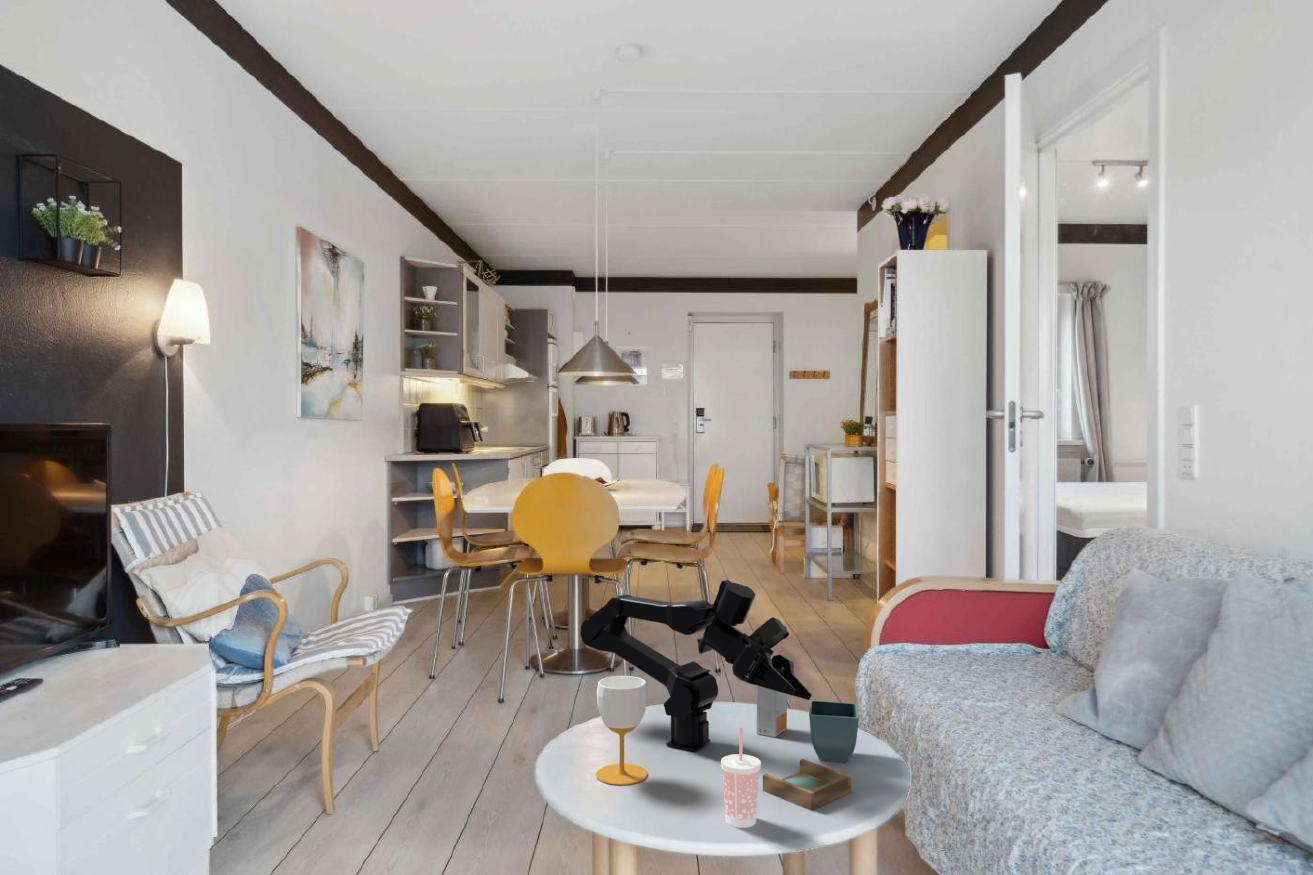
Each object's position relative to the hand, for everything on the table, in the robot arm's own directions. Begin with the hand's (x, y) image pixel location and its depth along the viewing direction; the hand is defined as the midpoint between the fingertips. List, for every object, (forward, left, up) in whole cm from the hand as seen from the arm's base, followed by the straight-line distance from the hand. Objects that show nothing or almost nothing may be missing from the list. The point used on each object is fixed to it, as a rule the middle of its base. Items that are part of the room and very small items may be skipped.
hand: (802, 695), depth 141 cm
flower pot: (+2, +11, -14) cm, 18 cm away
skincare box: (-13, +18, -14) cm, 27 cm away
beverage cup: (-2, -21, -14) cm, 25 cm away
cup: (-27, -16, -14) cm, 34 cm away
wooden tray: (+3, -6, -14) cm, 15 cm away
